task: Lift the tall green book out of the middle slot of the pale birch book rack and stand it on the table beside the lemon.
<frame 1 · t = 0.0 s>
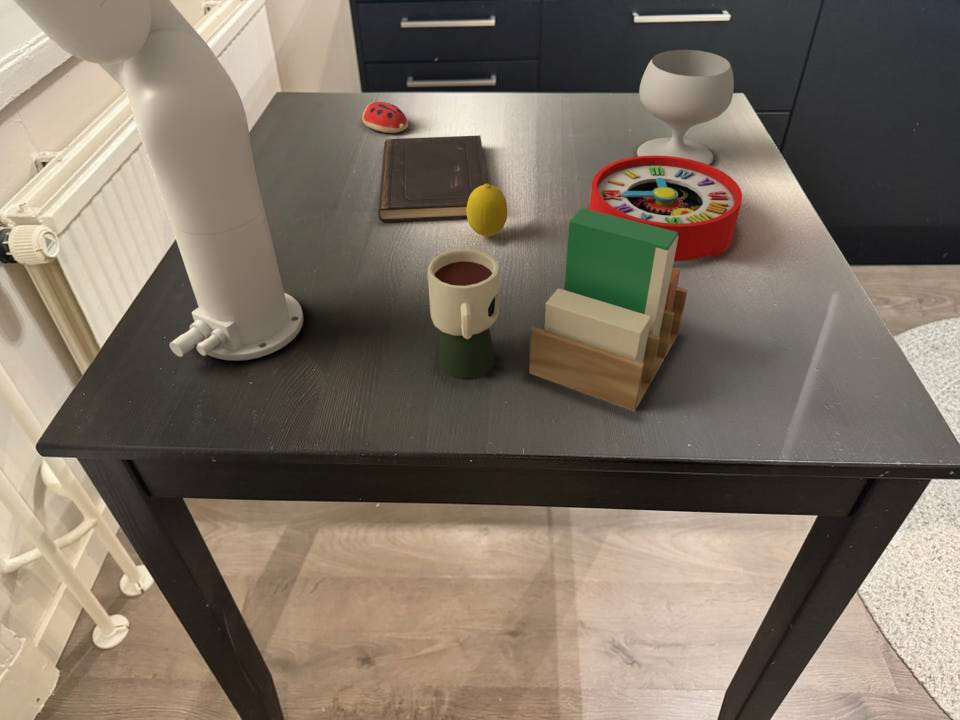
hardcover book: (434, 183, 113), on the table
ladybug figurine: (385, 127, 129), on the table
toy clock: (659, 227, 102), on the table
green book: (606, 352, 81), point 1 cm above the table, touching book rack
cream book: (589, 376, 78), point 1 cm above the table, touching book rack
lemon: (487, 238, 101), on the table
terracotta book: (621, 329, 84), point 1 cm above the table, touching book rack
character mug: (466, 366, 80), on the table
chalice: (674, 157, 118), on the table
book rack: (605, 357, 81), on the table
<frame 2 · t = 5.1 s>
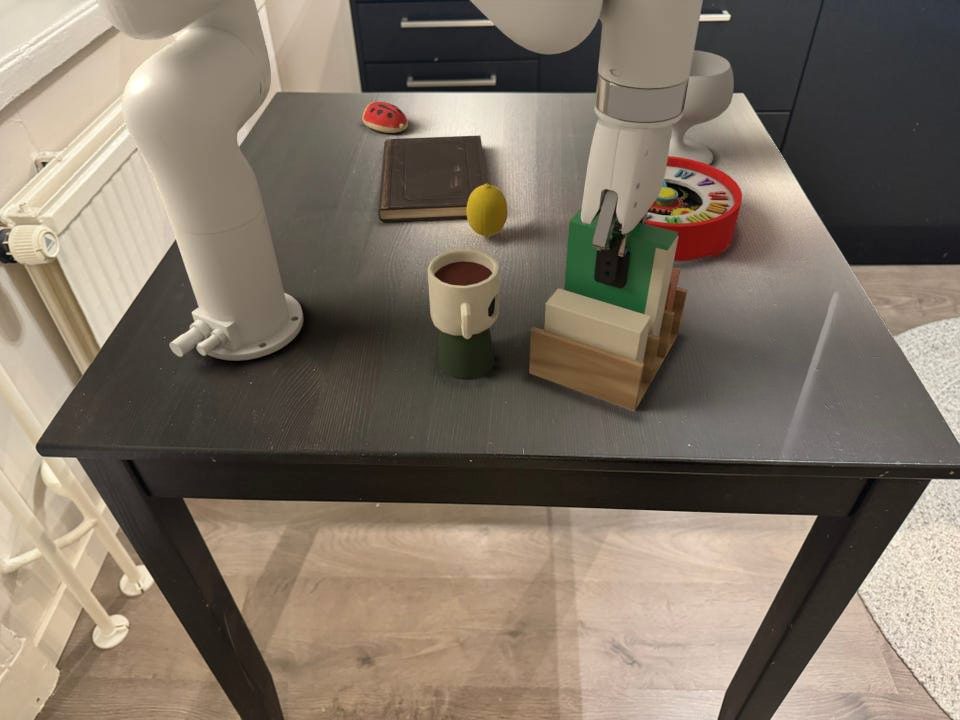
hand: (616, 272, 74), 11 cm above the table, tool pointing down, fingers closed on green book, 3 cm apart
green book: (606, 352, 81), point 1 cm above the table, touching book rack, gripper
everything else where it was.
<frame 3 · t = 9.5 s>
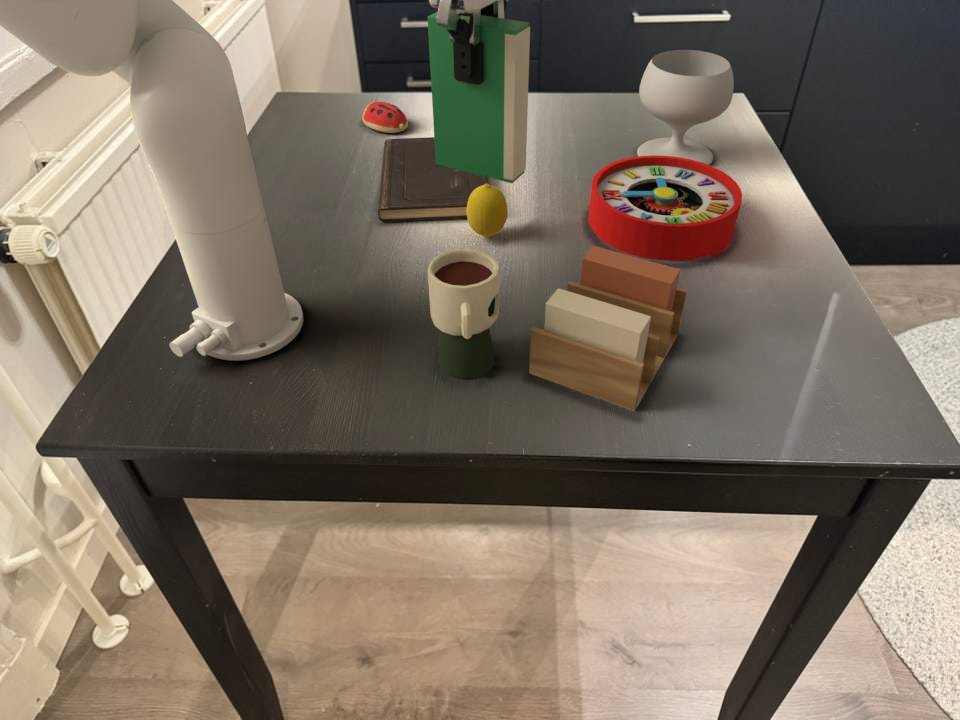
hand: (478, 74, 76), 26 cm above the table, tool pointing down, fingers closed on green book, 3 cm apart
green book: (479, 168, 83), point 15 cm above the table, touching gripper
everything else where it was.
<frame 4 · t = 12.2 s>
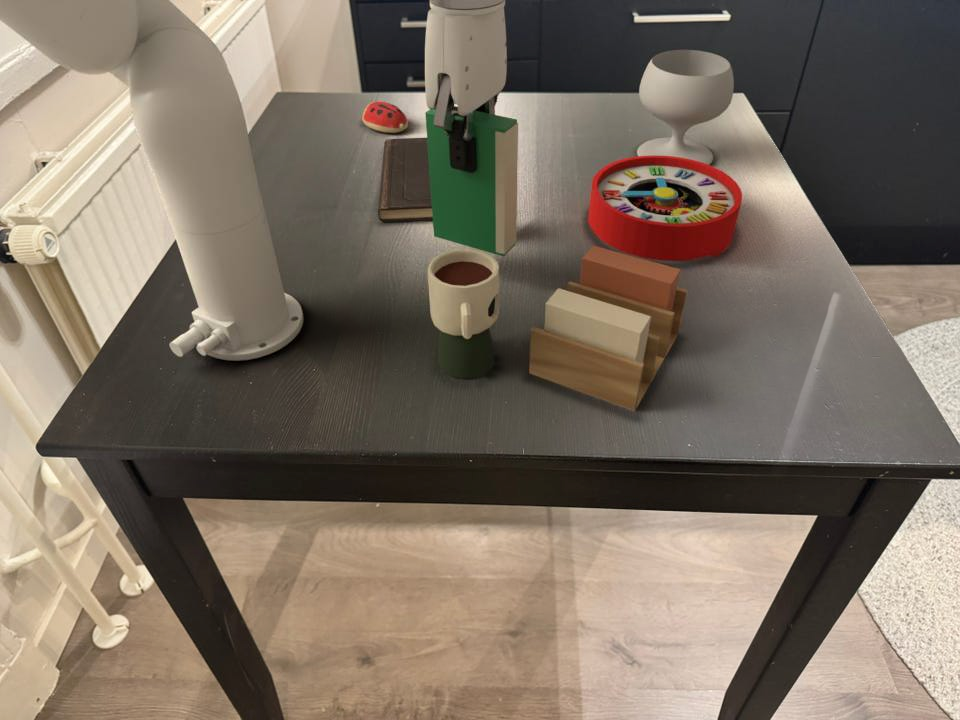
hand: (471, 161, 83), 16 cm above the table, tool pointing down, fingers closed on green book, 3 cm apart
green book: (474, 240, 90), point 5 cm above the table, touching gripper
everything else where it was.
when the fingers open (11 cm above the table, at t = 13.9 s): green book stays where it is, on the table.
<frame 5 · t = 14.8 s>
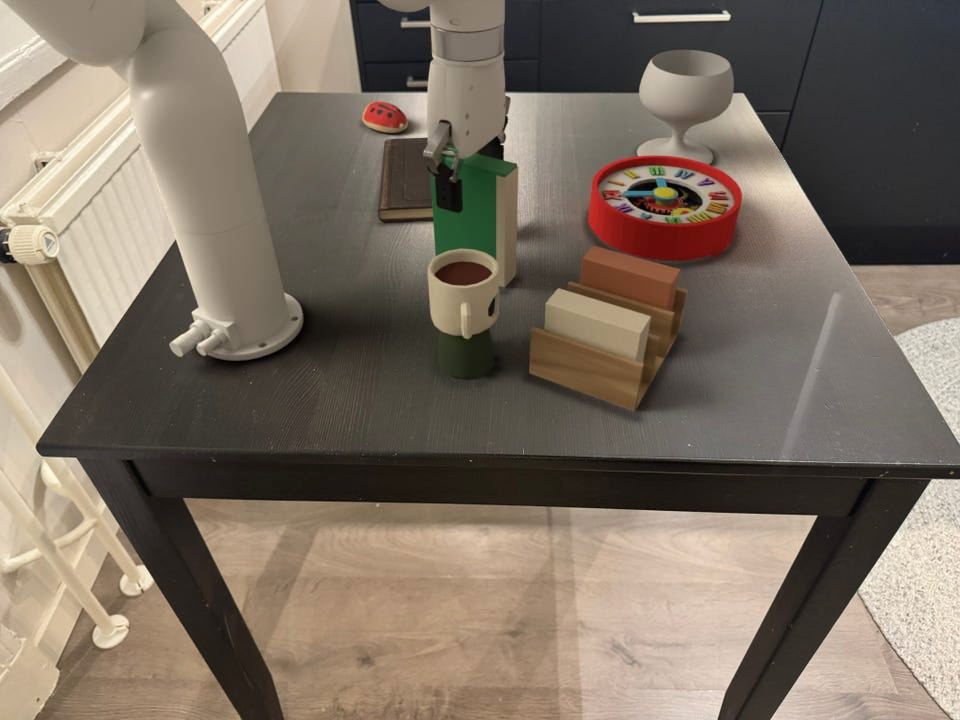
hand: (471, 191, 86), 12 cm above the table, tool pointing down, fingers open, 9 cm apart
green book: (475, 275, 94), on the table
everything else where it was.
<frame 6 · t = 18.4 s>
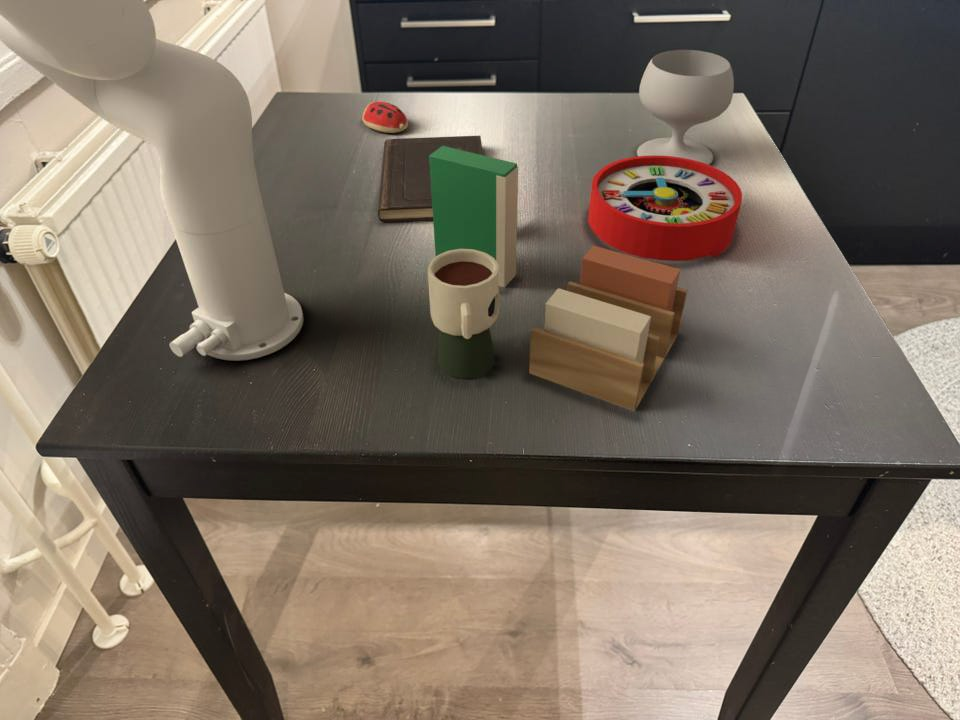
nothing on the table moved.
at the end: green book touching table; green book inside the target area (0.1 cm from its centre), on the table; green book 9.4 cm from the lemon (horizontally) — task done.
